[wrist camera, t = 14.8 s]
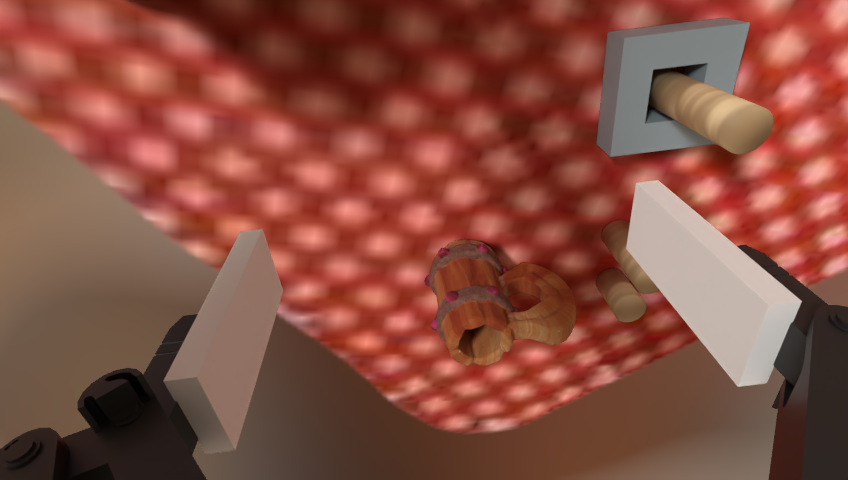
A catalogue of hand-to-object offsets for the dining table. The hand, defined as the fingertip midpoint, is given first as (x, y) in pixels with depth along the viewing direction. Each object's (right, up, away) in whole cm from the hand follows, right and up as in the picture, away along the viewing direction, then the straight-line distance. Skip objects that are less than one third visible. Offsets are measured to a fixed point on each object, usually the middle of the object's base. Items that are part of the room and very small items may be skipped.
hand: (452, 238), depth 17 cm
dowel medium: (+22, +1, +39) cm, 44 cm away
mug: (+6, -2, +39) cm, 40 cm away
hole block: (+22, +15, +30) cm, 40 cm away
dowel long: (+22, +15, +30) cm, 40 cm away
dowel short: (+23, -5, +42) cm, 48 cm away
